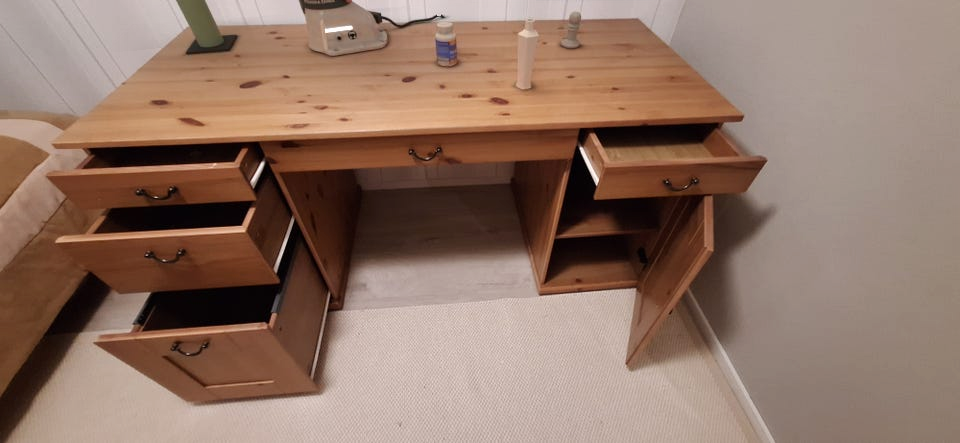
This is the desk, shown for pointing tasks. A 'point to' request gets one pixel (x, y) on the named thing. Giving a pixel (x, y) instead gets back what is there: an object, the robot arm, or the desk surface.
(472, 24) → the desk surface
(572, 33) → the chess piece
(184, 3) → the bottle
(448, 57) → the pill bottle
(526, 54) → the perfume bottle
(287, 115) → the desk surface
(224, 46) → the coaster
